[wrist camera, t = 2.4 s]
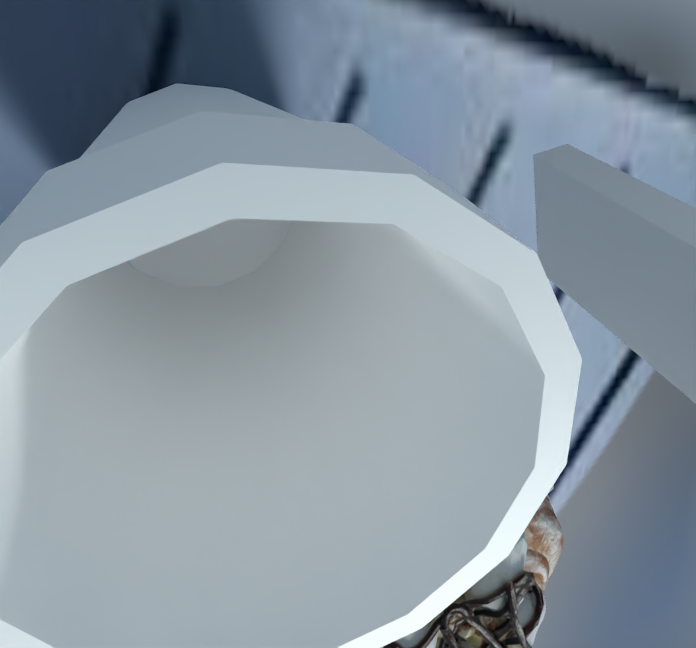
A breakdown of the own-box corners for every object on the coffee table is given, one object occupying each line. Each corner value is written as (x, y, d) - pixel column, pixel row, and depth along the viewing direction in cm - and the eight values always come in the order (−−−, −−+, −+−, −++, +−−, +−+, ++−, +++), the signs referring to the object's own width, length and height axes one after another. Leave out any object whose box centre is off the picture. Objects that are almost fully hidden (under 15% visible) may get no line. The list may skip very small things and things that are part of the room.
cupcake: (368, 553, 31) (457, 778, 23) (230, 456, 25) (281, 706, 17) (528, 430, 30) (683, 620, 21) (419, 301, 24) (570, 489, 16)
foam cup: (211, 369, 23) (283, 744, 12) (-43, 207, 18) (-291, 604, 7) (401, 177, 21) (674, 417, 11) (180, -61, 16) (279, -55, 6)
